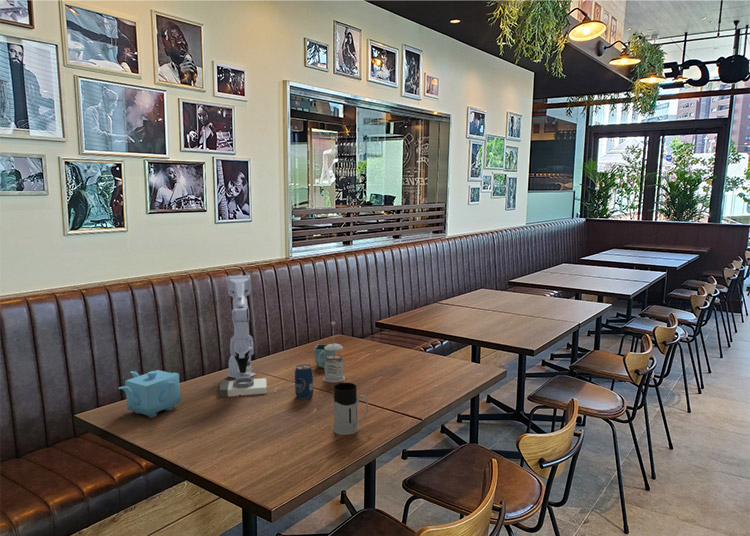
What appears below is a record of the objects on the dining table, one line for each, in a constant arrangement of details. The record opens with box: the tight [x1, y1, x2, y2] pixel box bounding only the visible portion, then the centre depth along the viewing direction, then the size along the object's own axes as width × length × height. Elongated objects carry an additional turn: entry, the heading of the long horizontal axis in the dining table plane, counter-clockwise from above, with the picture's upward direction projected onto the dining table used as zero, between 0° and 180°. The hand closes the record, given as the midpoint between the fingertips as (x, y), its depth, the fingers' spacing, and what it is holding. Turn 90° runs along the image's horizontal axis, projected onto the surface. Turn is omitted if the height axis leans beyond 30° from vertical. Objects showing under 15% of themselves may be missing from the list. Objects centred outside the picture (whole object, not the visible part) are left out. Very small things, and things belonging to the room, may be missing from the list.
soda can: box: [294, 363, 314, 400], centre depth 212 cm, size 7×7×12 cm
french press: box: [318, 321, 346, 384], centre depth 231 cm, size 10×12×25 cm
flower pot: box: [313, 343, 336, 368], centre depth 249 cm, size 9×9×9 cm
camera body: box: [219, 377, 268, 398], centre depth 219 cm, size 18×11×4 cm, turn 102°
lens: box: [238, 361, 250, 376], centre depth 218 cm, size 5×5×5 cm
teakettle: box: [117, 369, 182, 418], centre depth 199 cm, size 19×19×15 cm
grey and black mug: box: [332, 382, 369, 436], centre depth 180 cm, size 9×14×15 cm, turn 51°
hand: (243, 370), depth 218 cm, fingers closed on lens, 5 cm apart
